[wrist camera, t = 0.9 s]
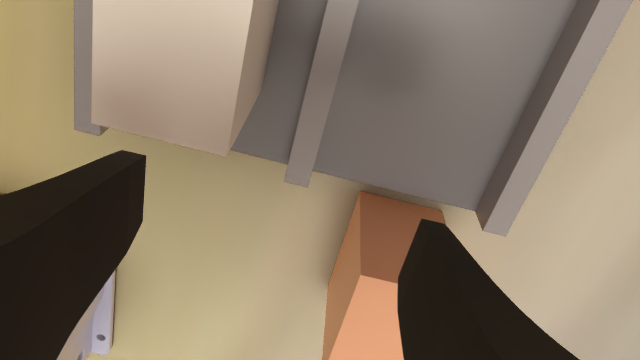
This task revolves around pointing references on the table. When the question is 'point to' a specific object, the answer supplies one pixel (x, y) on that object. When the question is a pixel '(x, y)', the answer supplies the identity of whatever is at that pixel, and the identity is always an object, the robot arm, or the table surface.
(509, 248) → the table surface
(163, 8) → the white plug
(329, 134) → the slot rack
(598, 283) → the table surface
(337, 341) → the terracotta plug
